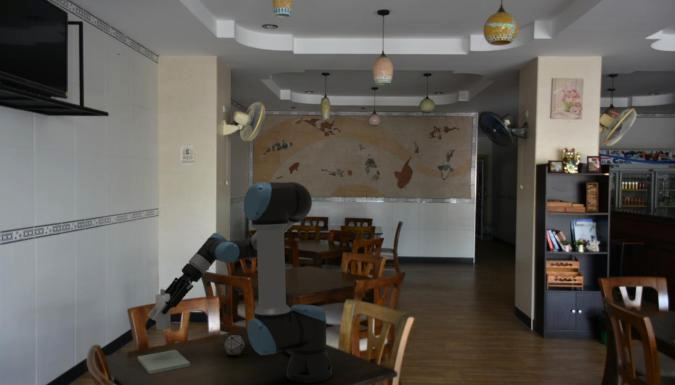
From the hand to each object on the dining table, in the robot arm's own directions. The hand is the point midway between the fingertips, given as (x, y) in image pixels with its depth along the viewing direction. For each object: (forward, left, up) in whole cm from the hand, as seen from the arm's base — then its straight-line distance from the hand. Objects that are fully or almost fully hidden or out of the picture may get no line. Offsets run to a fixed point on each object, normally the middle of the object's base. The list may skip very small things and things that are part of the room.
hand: (152, 319), depth 188 cm
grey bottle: (0, -4, -4) cm, 5 cm away
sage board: (-1, -3, -16) cm, 17 cm away
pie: (-18, -51, -17) cm, 56 cm away
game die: (-8, -28, -16) cm, 33 cm away
